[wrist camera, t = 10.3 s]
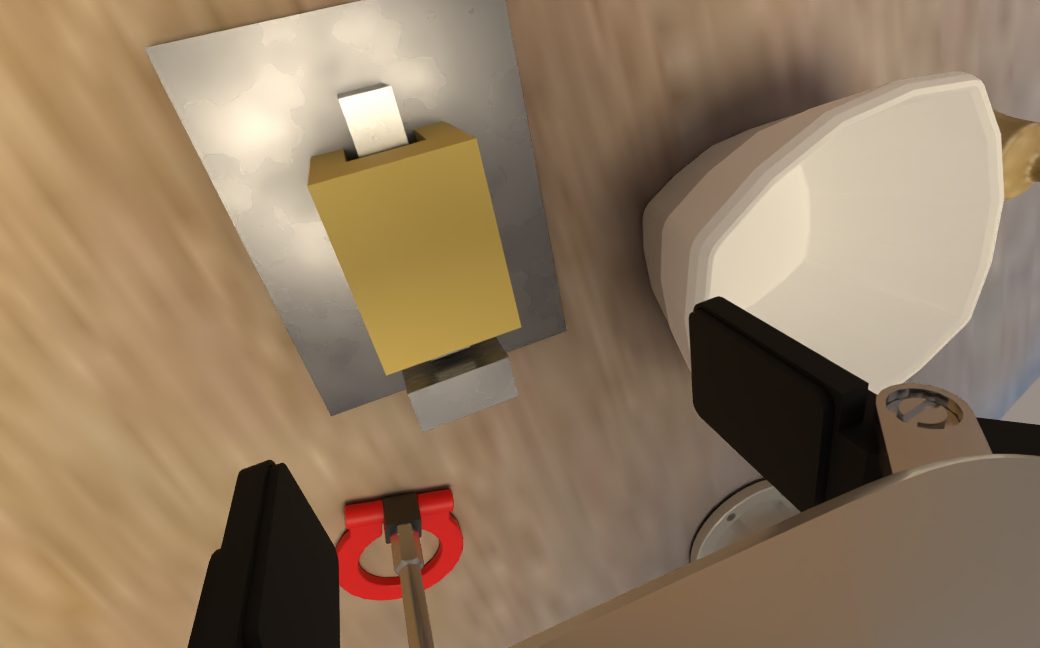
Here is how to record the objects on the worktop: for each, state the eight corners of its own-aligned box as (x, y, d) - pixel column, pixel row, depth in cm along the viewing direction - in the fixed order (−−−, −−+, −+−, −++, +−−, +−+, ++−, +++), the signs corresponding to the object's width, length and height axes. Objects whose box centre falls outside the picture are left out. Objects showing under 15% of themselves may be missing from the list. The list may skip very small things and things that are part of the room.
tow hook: (457, 571, 39) (463, 479, 34) (506, 779, 28) (525, 683, 24) (337, 597, 36) (328, 500, 32) (342, 837, 25) (329, 741, 21)
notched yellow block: (443, 121, 24) (476, 138, 18) (485, 277, 28) (521, 327, 22) (310, 157, 22) (307, 186, 17) (374, 314, 26) (386, 375, 21)
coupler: (494, -28, 22) (536, -49, 18) (561, 324, 31) (599, 368, 27) (150, 48, 20) (100, 45, 15) (331, 407, 29) (332, 470, 24)
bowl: (856, 271, 38) (998, 328, 30) (653, 402, 37) (743, 496, 29) (830, 15, 28) (1027, -1, 20) (555, 183, 27) (650, 234, 20)
